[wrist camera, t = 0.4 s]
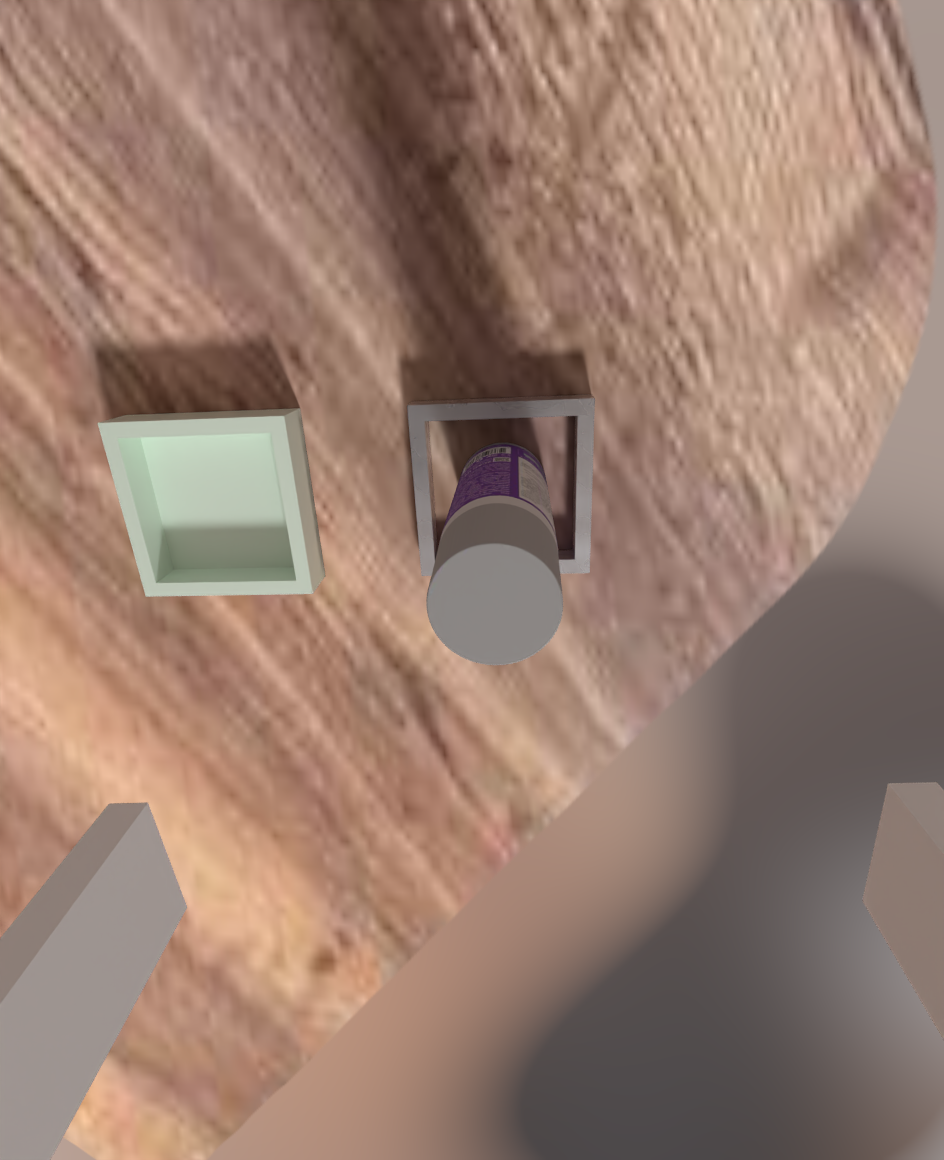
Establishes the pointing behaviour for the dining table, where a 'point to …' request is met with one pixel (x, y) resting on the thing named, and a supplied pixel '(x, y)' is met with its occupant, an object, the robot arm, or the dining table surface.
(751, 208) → the dining table surface
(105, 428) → the tray
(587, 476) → the collar
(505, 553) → the container
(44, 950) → the robot arm
